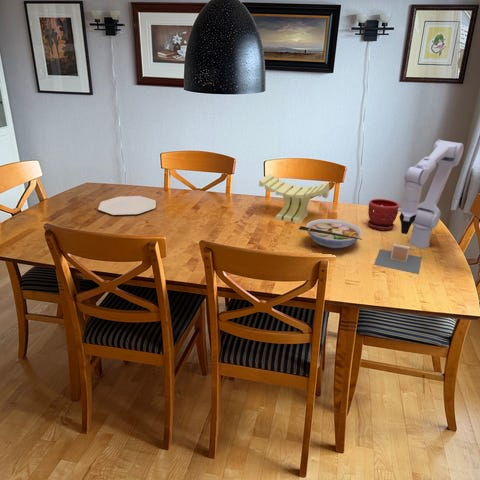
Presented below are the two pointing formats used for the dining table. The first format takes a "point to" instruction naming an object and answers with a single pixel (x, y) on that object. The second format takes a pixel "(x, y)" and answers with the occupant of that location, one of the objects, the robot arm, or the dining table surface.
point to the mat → (398, 262)
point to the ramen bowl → (333, 232)
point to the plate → (127, 205)
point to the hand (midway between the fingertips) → (404, 232)
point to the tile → (400, 252)
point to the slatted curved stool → (293, 197)
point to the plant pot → (382, 213)
